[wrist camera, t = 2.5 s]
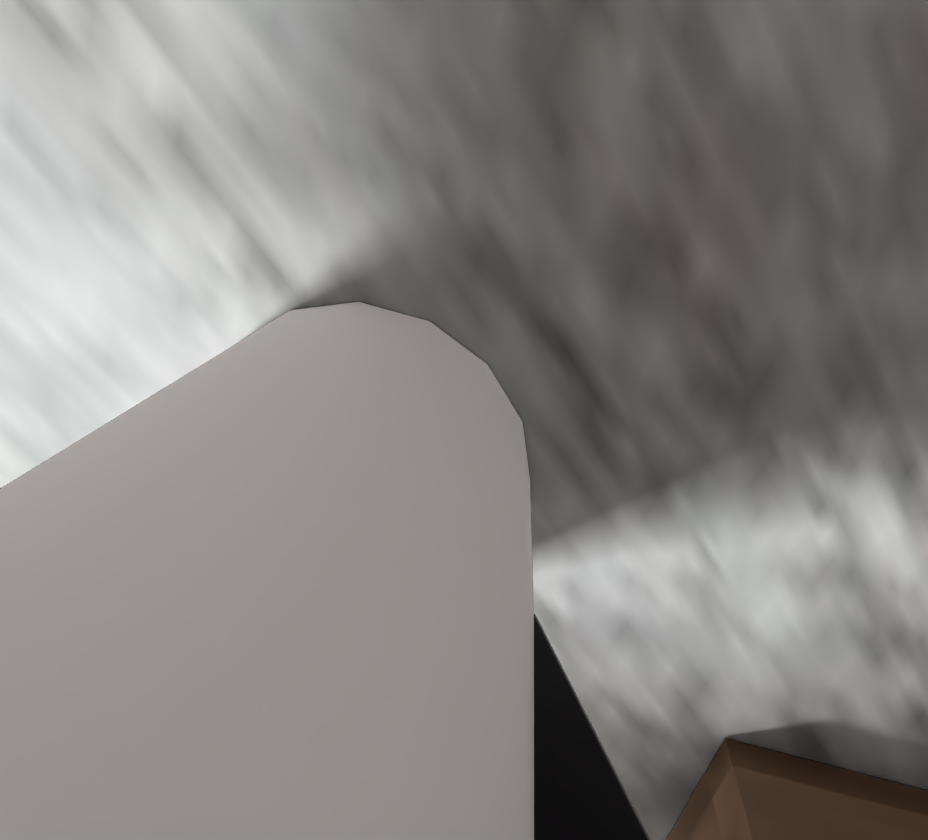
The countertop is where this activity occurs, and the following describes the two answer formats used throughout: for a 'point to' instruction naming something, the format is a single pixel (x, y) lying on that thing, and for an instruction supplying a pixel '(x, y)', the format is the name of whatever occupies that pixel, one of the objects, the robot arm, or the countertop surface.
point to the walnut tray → (796, 801)
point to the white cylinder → (278, 601)
